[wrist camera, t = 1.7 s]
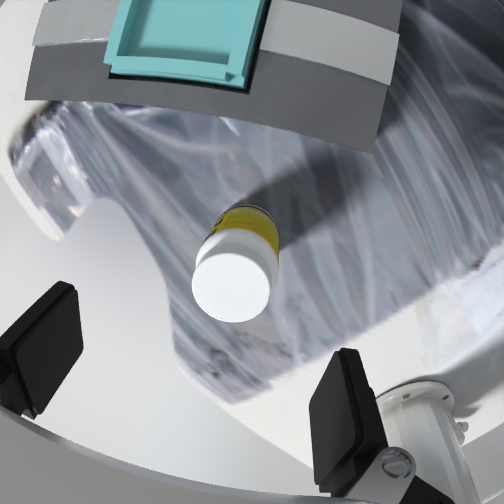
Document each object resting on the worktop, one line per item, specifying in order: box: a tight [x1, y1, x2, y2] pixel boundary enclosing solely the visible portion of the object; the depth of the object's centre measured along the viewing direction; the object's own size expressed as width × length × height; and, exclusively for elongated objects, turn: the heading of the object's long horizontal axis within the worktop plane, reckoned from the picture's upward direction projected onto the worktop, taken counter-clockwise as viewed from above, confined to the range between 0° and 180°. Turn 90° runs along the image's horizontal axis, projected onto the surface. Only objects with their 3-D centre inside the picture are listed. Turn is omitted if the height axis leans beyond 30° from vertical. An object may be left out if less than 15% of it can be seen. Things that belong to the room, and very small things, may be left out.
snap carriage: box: [103, 0, 269, 90], centre depth 14 cm, size 8×8×3 cm
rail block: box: [24, 0, 403, 154], centre depth 16 cm, size 24×12×4 cm, turn 78°
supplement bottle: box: [192, 204, 279, 322], centre depth 20 cm, size 5×5×8 cm
